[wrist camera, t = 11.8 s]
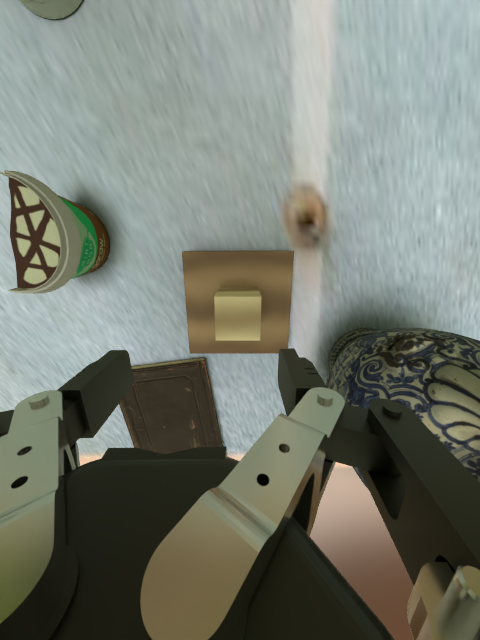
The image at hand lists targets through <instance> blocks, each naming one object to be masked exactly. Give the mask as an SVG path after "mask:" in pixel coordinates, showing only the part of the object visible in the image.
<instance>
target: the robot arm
mask: <svg viewBox="0 0 480 640" xmlns="http://www.w3.org/2000/svg"><path fill="white" fill-rule="evenodd" d="M19 1H20V2H21V3H22V4H23V5H24V6H25V7H26V8H27V9H29V10H30V11H32V12H33V13H35V14H36V15H39V16H41V17H44V18H48V19H60V18H64V17H66V16H68V15H70V14H71V13H72V12H74V11H75V10H76V9H77V8H78V6H79V5H80V3H81V1H82V0H19ZM132 383H133V375H132V369H131V364H130V358H129V354H128V352H127V351H126V350H111V351H109V352H108V353H106V354H105V355H104V356H103V357H102V358H100V359H99V360H98V361H96V362H94V363H92V364H90V365H88V366H87V367H86V368H84V369H83V370H82V372H79V373H78V374H77V375H76V377H73V378H72V379H71V380H69V381H68V382H67V383H65V384H64V385H63V386H62V387H60V388H59V389H58V390H50V391H44V392H40V393H37V394H35V395H32V396H30V397H28V398H26V399H24V400H23V401H21V402H20V403H19V404H18V405H17V406H16V407H15V410H9V411H4V412H0V640H394V639H393V637H392V636H391V634H390V633H389V631H388V630H387V629H386V627H385V626H384V625H383V623H382V622H381V621H380V620H379V619H378V617H377V616H376V615H375V614H374V613H373V611H372V610H371V609H370V608H369V607H368V606H367V604H366V603H365V602H364V601H363V600H362V598H361V597H360V596H359V595H358V594H357V592H356V591H355V590H354V589H353V588H352V586H350V584H349V583H348V582H347V580H346V579H345V578H344V577H343V576H342V575H341V573H340V572H339V571H338V570H337V569H336V567H335V566H334V565H333V564H332V563H331V561H330V560H329V559H328V558H327V557H326V556H325V554H324V553H323V552H322V551H321V550H320V548H319V547H318V546H317V545H316V544H315V543H314V541H313V540H312V539H311V538H310V534H311V530H312V528H313V524H314V521H315V518H316V514H317V510H318V506H319V503H320V500H321V497H322V495H323V493H324V490H325V487H326V485H327V482H328V480H329V477H330V475H331V472H332V470H333V467H334V465H335V462H338V463H342V464H346V465H349V466H353V467H356V468H359V469H360V472H361V474H362V476H363V478H364V480H365V482H366V484H367V486H368V489H369V491H370V493H371V495H372V497H373V499H374V501H375V504H376V506H377V508H378V510H379V512H380V514H381V516H382V518H383V521H384V522H385V525H386V527H387V529H388V531H389V533H390V535H391V538H392V540H393V542H394V544H395V546H396V548H397V550H398V552H399V555H400V557H401V559H402V561H403V563H404V565H405V567H406V570H407V572H408V574H409V576H410V578H411V580H412V582H413V585H414V588H413V591H412V593H411V596H410V598H409V601H408V606H407V615H408V621H409V626H410V629H411V632H412V636H413V639H414V640H480V482H479V481H478V480H477V479H476V478H475V477H474V476H473V475H472V474H471V473H470V472H469V471H468V470H467V469H466V468H465V467H464V465H463V464H462V463H461V462H460V461H459V460H458V459H457V458H456V457H455V456H454V455H453V454H452V453H451V452H450V451H449V450H448V449H447V448H446V446H445V445H444V444H443V443H442V442H441V441H440V440H439V439H438V438H437V437H436V436H435V435H434V434H433V433H432V432H431V431H430V430H429V429H428V428H427V426H426V425H425V424H424V423H423V422H422V421H421V420H420V419H419V418H418V417H417V416H416V415H415V414H414V413H413V412H412V411H411V410H410V409H409V408H407V407H406V406H404V405H402V404H401V403H398V402H396V401H393V400H389V399H382V398H381V399H374V400H372V401H371V402H370V404H369V409H368V408H363V407H358V406H353V405H349V404H346V403H345V401H344V398H343V397H342V396H341V395H340V394H339V393H337V392H336V391H334V390H331V389H328V388H327V386H326V385H325V383H324V381H323V380H322V378H321V377H320V375H319V374H318V372H317V370H316V369H315V367H314V365H313V364H312V362H310V361H309V360H308V359H306V358H299V357H298V355H297V353H296V351H295V349H280V350H279V363H278V385H279V389H280V393H281V396H282V400H283V404H284V407H285V411H286V415H287V416H286V415H284V414H280V415H278V416H277V417H276V419H275V420H274V421H273V422H272V423H271V425H270V426H269V427H268V428H267V429H266V431H265V432H264V433H263V434H262V435H261V437H260V438H259V439H258V440H257V441H256V443H255V444H254V445H253V446H252V447H251V449H250V450H249V451H248V452H247V453H246V455H245V456H244V457H243V458H242V459H241V461H240V462H239V461H237V460H235V459H232V458H228V457H226V447H196V448H191V449H187V450H182V451H178V452H174V453H169V454H161V453H156V452H152V451H148V450H144V449H140V448H108V449H107V451H106V452H105V454H104V456H103V457H102V459H99V460H95V461H92V462H89V463H87V464H84V465H82V466H80V462H79V452H78V446H77V443H76V441H77V440H78V439H79V438H93V437H94V436H95V434H96V433H97V432H98V430H99V429H100V428H101V426H102V425H103V424H104V422H105V421H106V420H107V419H108V417H109V416H110V415H111V413H112V412H113V411H114V409H115V408H116V407H117V405H118V404H119V403H120V401H121V400H122V399H123V398H124V396H125V395H126V394H127V392H128V391H129V390H130V388H131V386H132Z"/></svg>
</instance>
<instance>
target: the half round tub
mask: <svg viewBox="0 0 480 640" xmlns="http://www.w3.org/2000/svg"><path fill="white" fill-rule="evenodd" d="M4 171H5V173H3V172H0V173H1V174H3V175H5V176H8V177H9V188H10V194H11V224H10V238H11V243H12V248H13V252H14V256H15V262H16V271H17V286H18V288H14V289H11V290H9V291H14V292H17V293H46V292H51V291H54V290H56V289H58V288H60V287H62V286H63V285H65V284H66V283H67V282H68V281H69V280H70V279H72V278H75V277H78V276H81V275H84V274H88V273H91V272H93V271H95V270H97V269H99V268H100V267H102V265H103V264H104V263H105V262H106V260H107V258H108V255H109V252H110V239H109V235H108V232H107V230H106V228H105V226H104V224H103V223H102V221H101V220H100V219H99V218H98V217H97V216H96V215H95V214H94V213H93V212H92V211H90V210H89V209H87V208H85V207H83V206H81V205H79V204H76V203H74V202H72V201H70V200H67V199H65V198H63V197H60V196H58V195H57V194H56V193H55V192H53V191H52V190H51V189H50V188H49V187H48V186H46V185H45V184H43V183H42V182H40V181H39V180H37V179H35V178H33V177H31V176H29V175H26V174H23V173H20V172H15V171H6V170H4Z"/></svg>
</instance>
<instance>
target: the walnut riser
mask: <svg viewBox="0 0 480 640" xmlns="http://www.w3.org/2000/svg"><path fill="white" fill-rule="evenodd" d="M182 258H183V271H184V284H185V297H186V310H187V323H188V336H189V349H190V353H279V350H280V349H288V338H289V322H290V306H291V291H292V275H293V259H294V251H184V252H182ZM219 288H258V290H259V292H260V294H261V329H260V341H219V340H216V335H215V306H214V296H215V294H216V293H217V291H218V289H219Z"/></svg>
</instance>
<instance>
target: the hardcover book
mask: <svg viewBox="0 0 480 640" xmlns="http://www.w3.org/2000/svg"><path fill="white" fill-rule="evenodd" d="M131 369H132V375H133V383H132V386H131V388H130V390H129V391H128V392H127V394H126V395H125V396H124V398H123V399H122V400H121V401H120V403H119V405H120V408H121V411H122V413H123V416H124V419H125V422H126V425H127V428H128V430H129V433H130V436H131V439H132V442H133V445H134V447H135V448H140V449H144V450H148V451H152V452H156V453H161V454H169V453H174V452H178V451H182V450H187V449H191V448H196V447H223V446H222V441H221V437H220V432H219V427H218V422H217V417H216V412H215V407H214V403H213V398H212V393H211V388H210V383H209V378H208V373H207V369H206V364H205V360H204V358H197V359H189V360H181V361H173V362H165V363H157V364H149V365H141V366H133V367H131Z"/></svg>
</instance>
